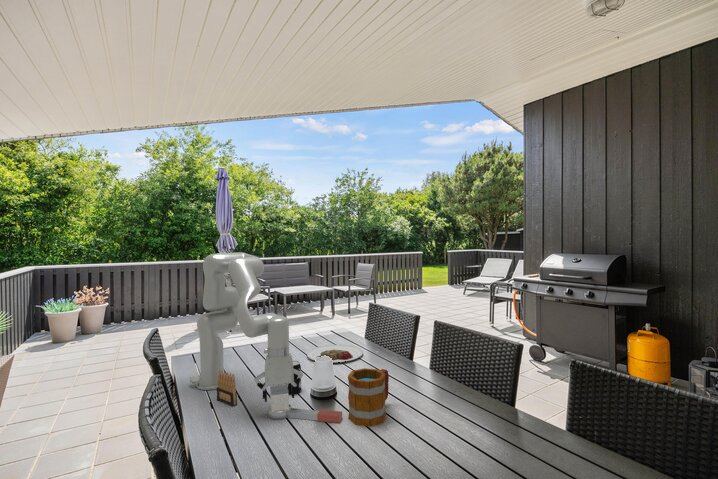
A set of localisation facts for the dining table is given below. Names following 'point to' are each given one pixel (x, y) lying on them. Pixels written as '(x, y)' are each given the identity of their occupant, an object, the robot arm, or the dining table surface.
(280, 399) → the brushed metal block
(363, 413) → the mug
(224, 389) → the ammunition clip
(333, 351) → the plated food
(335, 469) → the dining table surface
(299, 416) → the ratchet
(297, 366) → the beverage can
